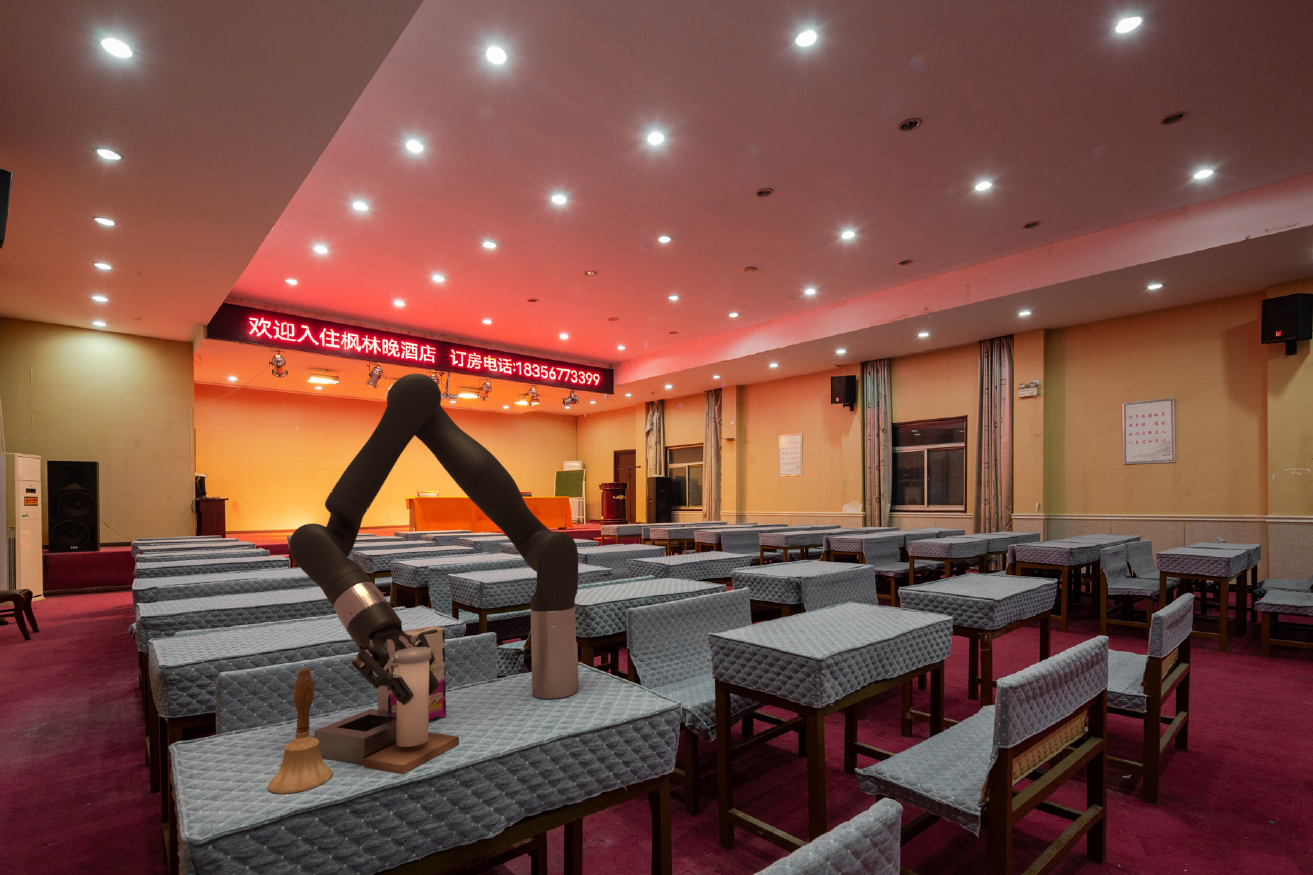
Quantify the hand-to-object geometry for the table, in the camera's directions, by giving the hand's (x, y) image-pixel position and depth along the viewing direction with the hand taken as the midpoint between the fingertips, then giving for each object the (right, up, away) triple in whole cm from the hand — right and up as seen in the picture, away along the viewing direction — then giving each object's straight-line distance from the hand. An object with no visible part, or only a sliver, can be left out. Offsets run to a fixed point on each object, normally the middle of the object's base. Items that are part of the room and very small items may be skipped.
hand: (421, 695), depth 100 cm
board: (-1, -10, 0) cm, 10 cm away
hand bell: (-15, -9, -8) cm, 19 cm away
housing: (-10, -10, +4) cm, 15 cm away
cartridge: (-1, -7, 0) cm, 7 cm away
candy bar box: (-7, -12, +15) cm, 20 cm away
